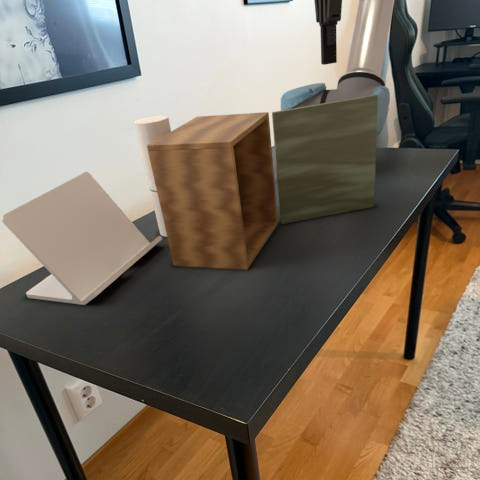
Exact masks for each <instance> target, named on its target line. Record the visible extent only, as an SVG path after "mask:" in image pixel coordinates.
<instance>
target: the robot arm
mask: <svg viewBox="0 0 480 480" xmlns="http://www.w3.org/2000/svg"><path fill="white" fill-rule="evenodd" d="M395 1H396V0H359V1H358V6H357V11H356V16H355V22H354V28H353V33H352V39H351V44H350V48H349V55H348V59H347V64H346V65H347V66H346V71H345V73H344V74H342V75H341V76H340V77H339V79H338V81H337V86H336V88H333V89H332V88H331V89H327V85H326V83H325V82H318V83H311V84H306V85H302V86H299V87H296V88H293V89H290V90H287V91H286V92H284V93H283V94H282V95H281V97H280V111H282V110H288V109H294V108H299V107H305V106H311V105H317V104H323V103H329V102H335V101H341V100H347V99H352V98H358V97H364V96H370V95H378V106H377V136H376V137H378V136H379V135H380V133H382V131H383V129H384V127H385V124H386V122H387V118H388V115H389V109H390V108H389V106H390V104H391V103H390V101H391V93H390V89H389V88H388V87H387V86H386V82H385V79H384V78H383V77H382V70H383V65H384V61H385V60H384V59H385V54H386V49H387V43H388V39H389V33H390V27H391V22H392V17H393V11H394V6H395ZM342 9H343V0H314V12H315V22H316V23H317V24H318V26H319V27H320V63H321V65H322V66H323V65H324V66H325V65H332V64H337V63H338V61H337V59H338V55H337V49H338V47H337V25H338V24H339V22H340V21H342Z"/></svg>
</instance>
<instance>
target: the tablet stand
mask: <svg viewBox="0 0 480 480" xmlns="http://www.w3.org/2000/svg"><path fill="white" fill-rule="evenodd" d="M0 220H1V222H2V224H3V225H4V226H5V227H6V228H7V229H8V230H9V231H10V232H11V233H12V234H13V235H14V236H15V238H16V239H18V240H19V242H21V244H23V246H24V247H25V248H26V249H27V250H28V251H29V252H30V253H31V254H32V255H33V256H34V257H35V258H36V260H38V261H39V262H40V264H41V265H42V266H43V267H44V268H45V269H46V270H47V271H48V272H49V273H50V275H48V276H46V277H45V278H44V279H43V280H41V281H40V282H38V283H37V284H36V285H34V286H32V287H31V288H30V289H29V290H27V291H26V292H25V294H26V295H25V296H26V297H27V298H28V299H35V300H43V301H49V302H58V303H65V304H66V303H67V304H75V305H82V306H86V305H87V304H89V302H91V301H92V300H93V299H95V298H96V297H97V296H98V295H99V294H101V293H102V292H103V291H104V290H105V289H106V288H108V287H109V286H110V285H111V284H112V283H113V282H115V281H116V280H117V279H118V278H119V277H120V276H121V275H123V274H124V273H125V272H126V271H127V270H129V269H130V267H133V265H134V264H135V263H136V262H137V261H139V260H140V259H141V258H142V257H143V256H145V255H146V254H147V253H149V252H150V251H151V250H152V249H153V248H154V247H155V246H156V245H157V244H159V242H161V241H162V240H163V236H162V235H161V234H160V235H158V236H156V237H155V238H154V239H153V240H152V241H151V242H150V241H149V240H148V239H147V238H146V237H145V235H144V234H143V233H142V232H141V231H140V230H139V229H138V228H137V226H136V225H135V224H134V222H132V220H131V219H130V218H129V217H128V216H127V215H126V213H125V212H124V211H123V210H122V209H121V208H120V207H119V206H118V204H117V203H116V202H115V201H114V200H113V199H112V197H111V196H110V195H109V194H108V192H106V191H105V189H104V188H103V187H102V185H100V183H99V182H98V181H97V180H96V179H95V177H94V176H93V175H92V174H91V173H90V172H88V171H85V172H82V173H81V174H79V175H77V176H75V177H73V178H71V179H69V180H67V181H65V182H64V183H62V184H60V185H58V186H56V187H54V188H52V189H51V190H49V191H47V192H45V193H42V194H41V195H38V196H37V197H35V198H33V199H32V200H29V201H27V202H25V203H24V204H21V205H20V206H18V207H16V208H14V209H12V210H10V211H9V212H6V213H4V214H3V215H2V216H1V219H0Z"/></svg>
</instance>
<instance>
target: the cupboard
mask: <svg viewBox="0 0 480 480" xmlns="http://www.w3.org/2000/svg"><path fill="white" fill-rule="evenodd" d="M269 113H270V112H269V111H265V112H249V113H247V112H246V113H235V114H234V113H233V114H232V113H231V114H217V115H216V114H215V115H204V116H203V115H201V116H196V117H194V118H192V119H190V120H189V121H187V122H185V123H183V124H182V125H180V126H178V127H177V128H175V129H173V130H171V132H169V133H168V134H166V135H164V136H162V137H161V138H159V139H157V140H155V141H154V142H152V143H150V144H149V145H147V149H148V153H149V158H150V162H151V167H152V171H153V176H154V180H155V184H156V189H157V193H158V198H159V202H160V207H161V211H162V216H163V220H164V224H165V229H166V233H167V241H168V247H169V250H170V256H171V259H172V265H173V267H174V266H176V267H192V268H193V267H194V268H208V269H209V268H211V269H228V270H229V269H230V270H231V269H232V270H245V271H247V270H248V269H249V268H250V266H251V265H252V263H253V261H254V260H255V259H256V257H257V256H258V255H259V253H260V252H261V250H262V248H263V247H264V245H265V244H266V242H267V241H268V240H269V238H270V237H271V235H272V234H273V232H274V230H275V229H276V228H277V226H278V225H279V218H278V208H277V194H276V184H275V183H276V182H275V171H274V160H273V159H274V158H273V148H272V137H271V124H270V114H269Z"/></svg>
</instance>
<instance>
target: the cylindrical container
mask: <svg viewBox="0 0 480 480" xmlns="http://www.w3.org/2000/svg"><path fill="white" fill-rule="evenodd" d="M134 127H135V128H134V129H135V132H136V136H137V140H138V145H139V150H140V153H141V156H142V161H143V167H144V171H145V175H146V179H147V183H148V188H149V192H150V196H151V200H152V206H153V209H154V213H155V217H156V222H157V227H158V231H159V234H160V236H161V237H167V233H166V229H165V224H164V220H163V216H162V211H161V207H160V202H159V198H158V193H157V189H156V184H155V180H154V176H153V171H152V167H151V162H150V158H149V153H148V149H147V145H149V144H150V143H152V142H154V141H155V140H157V139H159V138H161V137H162V136H164V135H166V134H168V133H169V132H171V131H172V129H171V124H170V119H169V115H164V114H161V115H159V114H158V115H151V116H146V117H142V118H139V119H136V120H134Z"/></svg>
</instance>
